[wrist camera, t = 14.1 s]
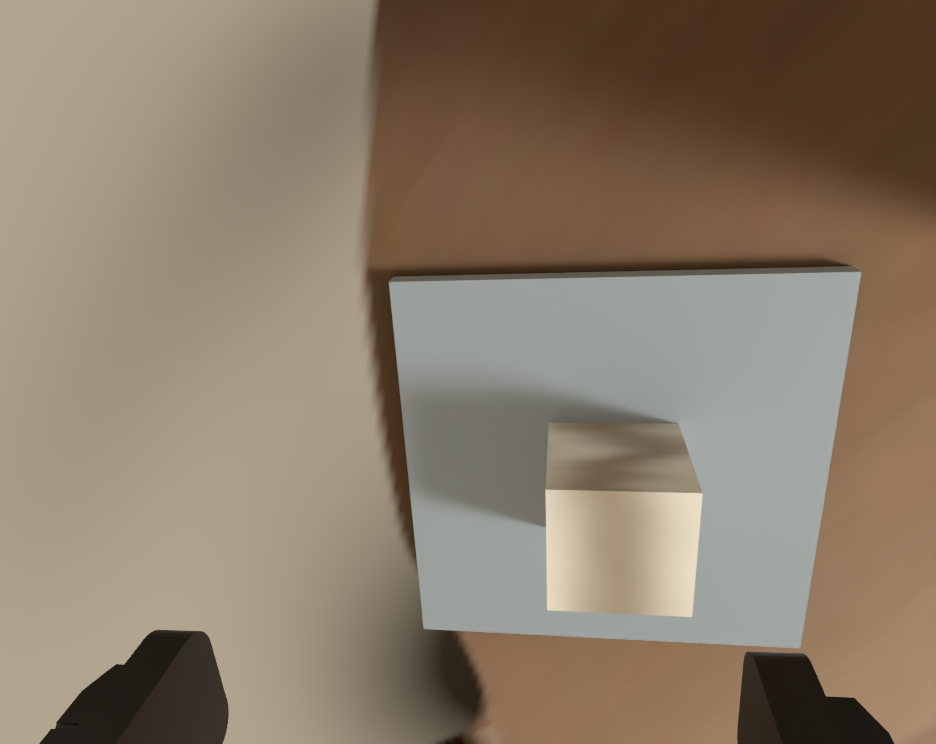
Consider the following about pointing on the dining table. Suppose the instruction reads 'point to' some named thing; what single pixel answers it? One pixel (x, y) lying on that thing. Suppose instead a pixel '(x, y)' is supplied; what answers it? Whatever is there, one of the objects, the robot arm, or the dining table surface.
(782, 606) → the slate board
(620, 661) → the dining table surface
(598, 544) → the maple block
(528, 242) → the dining table surface
